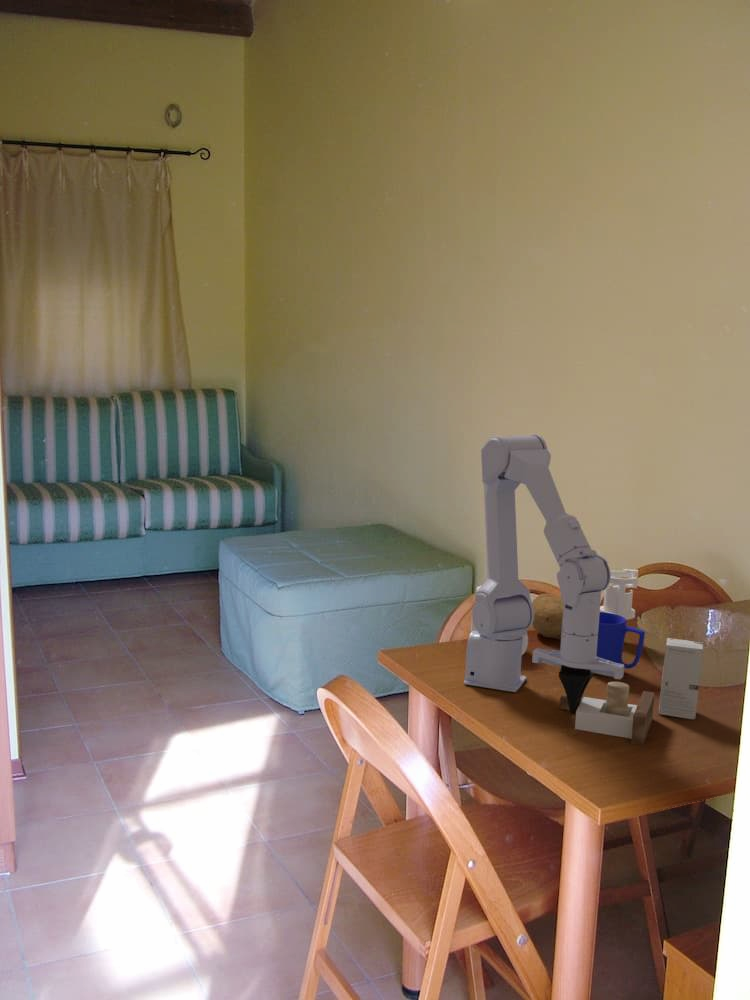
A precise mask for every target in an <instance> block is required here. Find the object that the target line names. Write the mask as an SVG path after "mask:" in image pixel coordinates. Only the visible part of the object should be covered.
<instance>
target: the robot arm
mask: <svg viewBox="0 0 750 1000" xmlns="http://www.w3.org/2000/svg"><path fill="white" fill-rule="evenodd" d="M480 452H481V454H480V455H481V456H480V457H481V477H482V479H481V480H482V483H483V499H484V503H483V504H484V522H485V523H484V524H485V529H484V530H485V547H486V552H485V553H486V566H487V568H486V573H487V580H486V581H485V582H484V583H483V584H481V585H480V586H481V587H480V588H479V589H478V590H477V589H476V590H477V591H474V602H475V604H474V603H473V605H474V607H473V606H472V610H473V611H471V620H472V619H473V623H474V626H475V628H476V629H477V631H472V632H471V631H470V633H469V636H468V639H467V644H466V654H465V673H464V674H465V676H464V681H463V684H464V685H468V686H473V687H474V686H475V687H480V688H487V689H492V690H499V691H505V692H510V693H511V692H512V693H517V692H518V691H519V689H520V688H521V686H522V685H523V684H524V682H525V681H526V679H527V676H526V675H521V672H522V671H521V670H522V669H521V668H522V657H523V655H522V640H523V635H526V631H527V630H529V629H530V628H531V627H532V626H533V625H532V623H533V620H534V608H533V605H532V600H531V599H532V598H531V590H530V588H529V587H528V586H527V585H525V584H524V583H523V582H522V581H521V580H520V579H519V563H518V562H519V559H518V541H517V540H518V538H517V537H518V536H517V534H518V533H517V513H516V511H517V510H516V489H518V487H519V486H520V485H521V484H523V485H525V486H526V488H527V490H528V492H529V493H530V495H531V497H532V499H533V500H534V502H535V504H536V506H537V507H538V510H539V511H540V514H542V517H543V518H544V520H545V526H544V529H543V533H544V534H543V535H544V537H545V538H546V541H547V543H548V545H549V547H550V549H551V551H552V554H553V555H554V559H555V560H556V562H557V564H558V567H559V571H558V572H556V579H557V584H558V586H559V588H560V598H561V599H562V603H563V618H562V632H561V640H560V647H559V650H556V649H548V648H547V649H545V648H539V647H537V648H535V649H533V651H532V659H531V660H532V661H531V662H532V663H535V664H541V663H542V664H547V665H551V666H556V667H560V670H559V672H558V678H559V680H560V683H561V684H562V687H563V690H564V692H565V694H566V695H565V696H567V699H568V704H569V710H568V712H569V715H575V716H576V711H577V709H578V707H579V704H580V701H581V699H583V697H584V692H585V691H586V689H587V687H588V686H589V685H588V684H589V683H590V681H591V679H592V678H593V676H594V674H597V675H602V676H607V677H612V678H613V679H615V680H621V679H622V678H623V677H624V674H625V673H624V672H625V668H624V665H623V664H619V663H615V662H612V661H609V660H605V659H602V658H599V657H596V654H597V641H598V628H599V615H600V607H601V601H602V600H601V599H602V591H605V589H606V588H607V587H608V585H610V583H609V582H610V571H611V569H610V566H609V564H608V563H609V562H608V561H607V559H606V558H604V557H603V556H602V555H600V554H598V553H597V551H596V550H595V549H592V547H591V545H590V543H589V542H588V540H587V539H588V538H587V537H586V535H585V533H584V531H583V529H582V527H581V524H580V522H579V520H578V519H577V517H576V516H574V515H572V514H568V513H567V511H566V510H565V507H564V505H563V502H562V500H561V497H560V494H559V491H558V489H557V486H556V483H555V481H554V479H553V476H552V473H551V471H550V468H549V466H550V463H551V458H552V457H551V456H552V455H551V453H550V451H549V450H548V446H547V443H546V441H545V439H544V438H543V437H542V436H540V435H538V434H531V435H518V436H517V435H512V436H499V435H494V436H491V437H490V438H489V439H488V440H487V441H486V442H485V444H484V445H483V446H482V448H481V451H480ZM504 596H510V597H504ZM499 597H502V598H499Z"/></svg>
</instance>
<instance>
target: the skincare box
mask: <svg viewBox="0 0 750 1000" xmlns="http://www.w3.org/2000/svg"><path fill="white" fill-rule="evenodd" d="M704 645H705V644H704V643H703V642H699V641H691V640H687V639H686V640H685V639H677V638H671V637H667V638H666V644H665V651H664V659H663V668H662V676H661V687H660V696H659V703H658V705H659V706H658V715H662V716H669V717H675V718H680V719H687V720H696V716H697V715H696V714H697V707H698V699H699V690H700V681H701V673H702V667H703V664H702V663H703V657H704Z"/></svg>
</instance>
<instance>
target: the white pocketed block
mask: <svg viewBox="0 0 750 1000" xmlns="http://www.w3.org/2000/svg"><path fill="white" fill-rule="evenodd" d="M582 699H583V700H582V702H581V703H580V705H579V707H578V709H577V711H576V714H575V721H574V722H575V723H574V724H575V725H574V730H577V729H578V731H585V732H590V733H596V734H601V735H608V736H612V737H613V736H614V737H617V738H618V737H619V738H625V739H630V740H631V739H632V727H633V716H634V713H635V711H636V708H637V706H638V704H630V703H628V709H627V717H626V716H620V715H614V714H608V713H605V707H606V699H601V698H600V699H599V698H595V697H589V696H583V697H582Z"/></svg>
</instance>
